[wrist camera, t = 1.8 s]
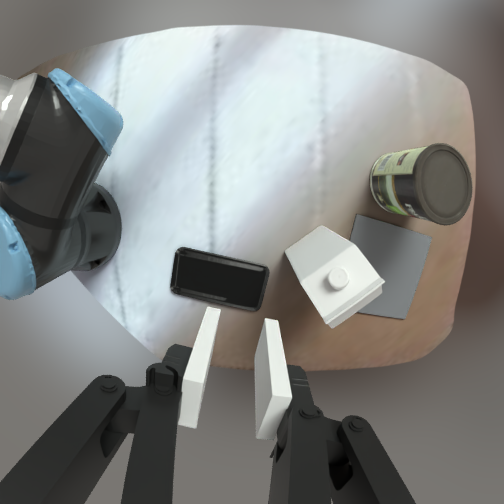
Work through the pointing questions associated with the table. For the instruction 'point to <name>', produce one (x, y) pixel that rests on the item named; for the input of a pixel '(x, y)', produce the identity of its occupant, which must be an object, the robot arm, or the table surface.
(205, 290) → the phone
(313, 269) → the milk carton
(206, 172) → the table surface
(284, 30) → the table surface
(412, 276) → the mat
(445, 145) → the coffee can
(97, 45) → the table surface
